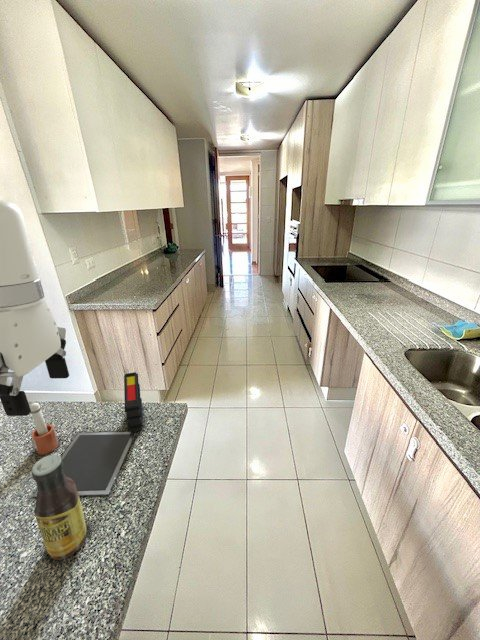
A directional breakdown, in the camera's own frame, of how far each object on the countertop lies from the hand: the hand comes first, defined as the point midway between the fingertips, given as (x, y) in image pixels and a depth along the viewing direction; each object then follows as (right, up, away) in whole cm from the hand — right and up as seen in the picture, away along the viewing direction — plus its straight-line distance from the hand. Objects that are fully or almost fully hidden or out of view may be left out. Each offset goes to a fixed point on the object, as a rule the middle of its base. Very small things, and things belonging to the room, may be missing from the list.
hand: (41, 394), depth 43 cm
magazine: (+2, -19, +35) cm, 39 cm away
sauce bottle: (+1, -30, +6) cm, 30 cm away
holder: (-18, -22, +25) cm, 38 cm away
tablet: (-4, -23, +22) cm, 32 cm away
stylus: (-18, -21, +25) cm, 37 cm away
